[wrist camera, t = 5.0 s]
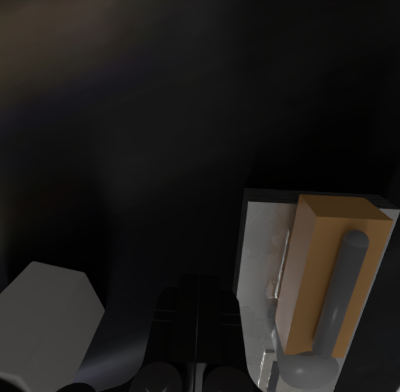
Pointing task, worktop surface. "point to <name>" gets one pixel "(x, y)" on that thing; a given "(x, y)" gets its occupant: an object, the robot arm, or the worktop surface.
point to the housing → (275, 275)
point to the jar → (45, 327)
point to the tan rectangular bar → (325, 284)
